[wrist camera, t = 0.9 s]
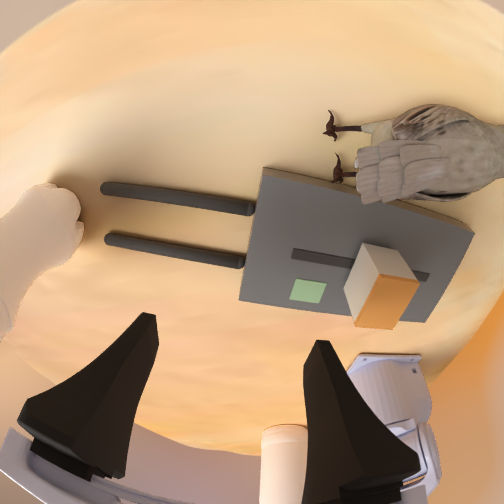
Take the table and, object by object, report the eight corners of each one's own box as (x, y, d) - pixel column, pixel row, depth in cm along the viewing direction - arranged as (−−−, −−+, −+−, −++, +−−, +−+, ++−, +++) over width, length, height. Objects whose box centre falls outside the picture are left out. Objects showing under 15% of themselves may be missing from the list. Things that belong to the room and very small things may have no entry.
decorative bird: (497, 170, 16) (557, 207, 9) (323, 188, 19) (355, 245, 12) (496, 107, 13) (563, 128, 6) (310, 108, 16) (341, 115, 9)
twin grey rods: (256, 201, 19) (256, 206, 18) (244, 265, 22) (243, 272, 21) (104, 179, 19) (97, 183, 18) (108, 240, 22) (102, 246, 21)
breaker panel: (462, 222, 19) (475, 233, 17) (417, 309, 24) (425, 323, 22) (263, 167, 18) (262, 175, 16) (240, 284, 23) (238, 301, 21)
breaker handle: (397, 250, 18) (420, 283, 15) (376, 293, 20) (392, 329, 17) (362, 242, 18) (381, 277, 14) (343, 288, 20) (355, 326, 17)
